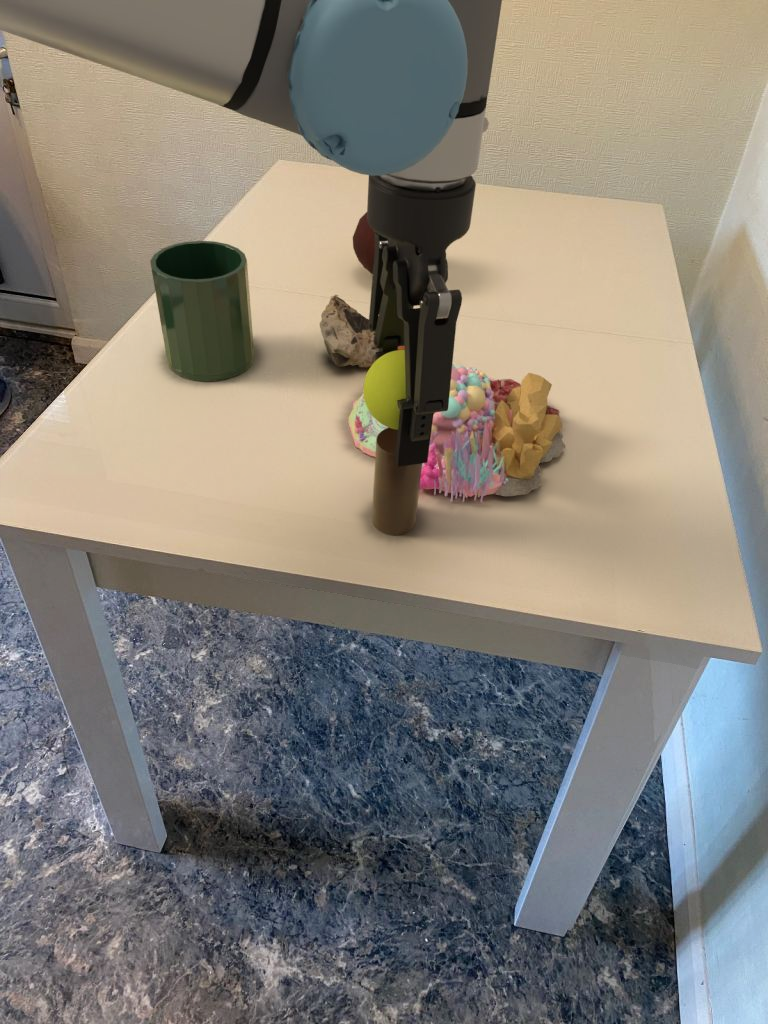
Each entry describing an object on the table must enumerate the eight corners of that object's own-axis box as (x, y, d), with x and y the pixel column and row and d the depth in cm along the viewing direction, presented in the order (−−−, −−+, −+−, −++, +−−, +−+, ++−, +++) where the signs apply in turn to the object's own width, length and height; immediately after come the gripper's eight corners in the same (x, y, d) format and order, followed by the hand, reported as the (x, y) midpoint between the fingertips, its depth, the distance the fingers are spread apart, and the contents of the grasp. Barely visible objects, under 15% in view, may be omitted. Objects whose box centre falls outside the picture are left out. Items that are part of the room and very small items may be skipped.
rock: (351, 317, 100) (307, 293, 92) (397, 308, 97) (355, 282, 88) (349, 380, 100) (305, 362, 91) (396, 374, 96) (353, 354, 87)
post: (378, 538, 72) (384, 458, 65) (366, 508, 75) (370, 429, 68) (421, 531, 73) (431, 451, 66) (407, 502, 76) (415, 423, 69)
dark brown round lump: (352, 296, 108) (354, 226, 101) (350, 257, 118) (352, 191, 111) (427, 298, 109) (434, 228, 102) (419, 259, 118) (425, 193, 111)
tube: (171, 386, 89) (153, 285, 80) (164, 341, 96) (147, 244, 87) (260, 376, 91) (253, 277, 83) (246, 332, 99) (239, 237, 90)
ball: (373, 450, 62) (378, 382, 58) (353, 405, 67) (355, 338, 62) (448, 440, 64) (458, 373, 59) (423, 396, 69) (431, 331, 64)
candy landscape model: (569, 398, 91) (587, 331, 85) (555, 524, 74) (576, 453, 68) (375, 363, 95) (378, 297, 89) (319, 476, 78) (318, 404, 72)
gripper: (532, 223, 45) (477, 501, 61) (427, 126, 59) (404, 374, 74) (416, 230, 43) (390, 515, 59) (336, 128, 57) (332, 382, 72)
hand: (398, 436), depth 67 cm, fingers closed on ball, 7 cm apart
